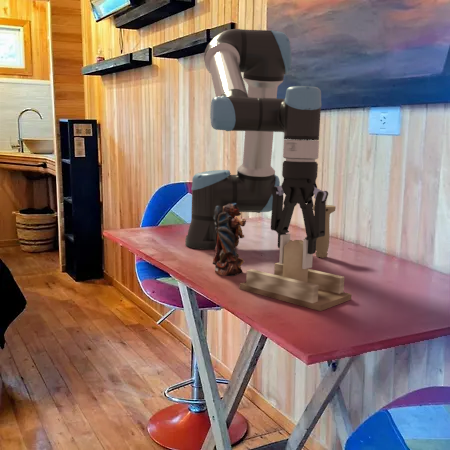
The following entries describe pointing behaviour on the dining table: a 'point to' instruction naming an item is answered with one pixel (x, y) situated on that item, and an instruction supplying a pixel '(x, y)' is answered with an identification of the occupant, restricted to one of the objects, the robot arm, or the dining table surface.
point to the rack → (298, 288)
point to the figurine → (228, 240)
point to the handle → (323, 242)
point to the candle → (294, 261)
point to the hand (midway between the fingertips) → (295, 265)
